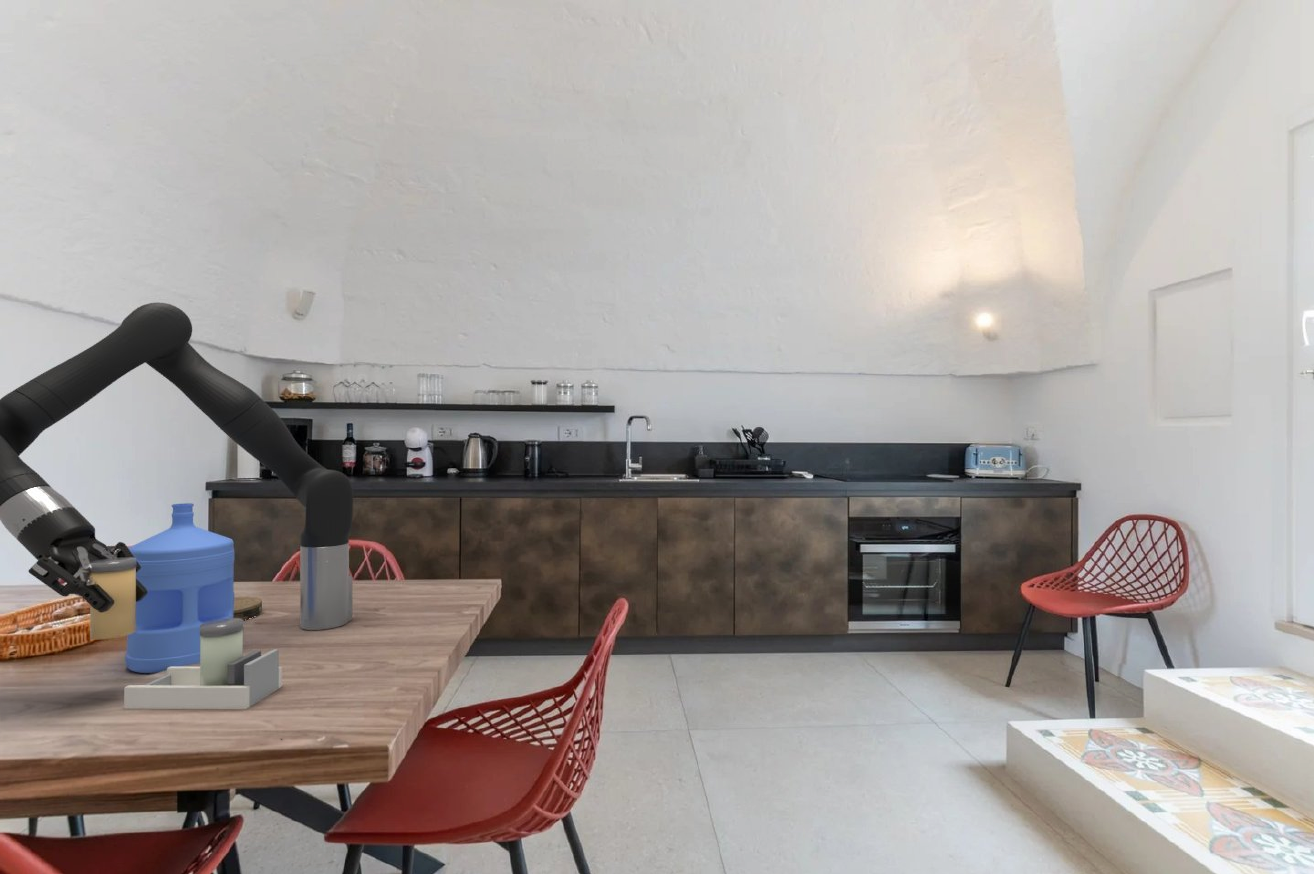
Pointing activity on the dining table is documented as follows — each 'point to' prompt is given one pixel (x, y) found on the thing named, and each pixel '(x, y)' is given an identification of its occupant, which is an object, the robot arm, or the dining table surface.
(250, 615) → the brown round flat disc
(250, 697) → the jar lane
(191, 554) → the water jug
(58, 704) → the dining table surface
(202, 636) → the sage jar
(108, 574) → the honey jar
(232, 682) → the block
